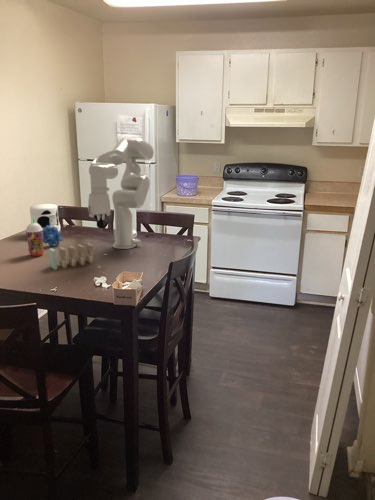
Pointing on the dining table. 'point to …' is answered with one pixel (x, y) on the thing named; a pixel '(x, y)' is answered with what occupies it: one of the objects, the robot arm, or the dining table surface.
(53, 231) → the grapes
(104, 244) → the dining table surface
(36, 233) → the smoothie
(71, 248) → the domino
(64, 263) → the domino
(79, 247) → the domino
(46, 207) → the milk container
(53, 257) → the domino
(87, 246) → the domino
